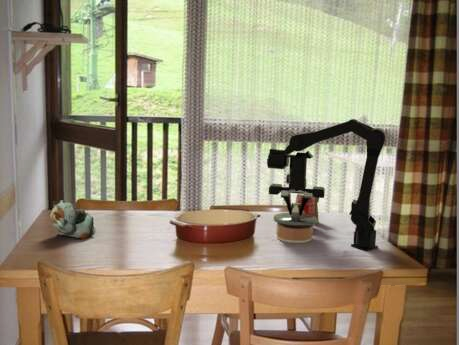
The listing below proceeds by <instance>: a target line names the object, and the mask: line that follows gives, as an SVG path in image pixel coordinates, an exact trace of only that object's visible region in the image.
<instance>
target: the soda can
mask: <svg viewBox="0 0 459 345" xmlns="http://www.w3.org/2000/svg"><path fill="white" fill-rule="evenodd" d="M296 194H297V195H295V196H296V197H295V203H300V204H301V205H302V199H303V196H304V194H300V193H296ZM314 210H315V197H314V196H313V195H312V199H311V200H308V201H307V203H306V205H305V207H304V210H303V212H302V214H308V215H312V216H314ZM314 225H315V224H314ZM314 225H313V227H314Z"/></svg>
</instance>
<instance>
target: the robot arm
mask: <svg viewBox="0 0 459 345" xmlns="http://www.w3.org/2000/svg"><path fill="white" fill-rule="evenodd" d="M348 133H353V134H355V135H357V136H358V137H360V138H362V139H363V140H365V141H366V157H365V158H366V159H365V163H364V168H363V173H362V178H361V184H360V188H359V193H358V194H359V195H358V197H357V200H356V199H352V201H351V204H350V205H351V206H350V208H351V209H350V211H349V213H348V215H349V216H350V221H351V222H352V224H354V225H355V228H354V230H355V231H354V232H353V243H351V244H350V246H351V247H353V248H356V249H360V250H363V251H370V250H374V249H378V248H379V246H378V245H377V244H376V240H377V230H376V229H375V228H376V223H377V220H376V219H375V218H374V217H373V215H371V196H372V191H373V186H374V181H375V177H376V171H377V166H378V161H379V157H380V154H381V153H382V150H383V148H384V145H385V143H386V141H387V133H386V131H385V130H384V129H383V128H381V127H372V126H370V125H368V124H365V123H363V122H361V121H359V120H358V119H356V118H352V119H349V120H347V121H344V122H342V123H337V124H335V125H332V126H329V127H328V126H327V127H325V128H322V129H318V130H314V131H305V132H299V133H297V134H294V135H292V136H291V137H290V139H289V141H288V142H289V143H288V145H287V146H286V147H285V149H276V148H270V149H269V153H268V156H267V159H266V164H267V168H268V169H274V170H286V167H289V173H287V174H286V179H285V183H286V184H288V187H287V186H283V184H282V183H281V184H280V183H271V184H270V185H269V187H268V195H279V194H280V198H281V199H282V198H283V200H284V202H285V204H286V207H287V210H288V213H289V214H290V215H291V204H292V200H291V196H292V195H291V194H297V193H300V194H304V196H303V199H302V205H301V210H300V216H301V215H302V212H303V210H304V207H305V205H306V203H307V201H308V200H311V199H312V195H313V196H314V197H315V198H319V199H324V198H325V194H326V192H325V191H326V188H325V187H324V186H312V188H307V167H308V166H307V164H308V160H310V159H312V158H314V155H313V154H312V153H311V152H310V150H306V149H308V148H309V147H310V148H311V146H313V145H315V144H318V143H319V142H322V141H326V140H329V139H332V138H336V137H339V136H342V135H345V134H348ZM304 150H306V152H301V151H304ZM294 152H296V154H292V153H294Z"/></svg>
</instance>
